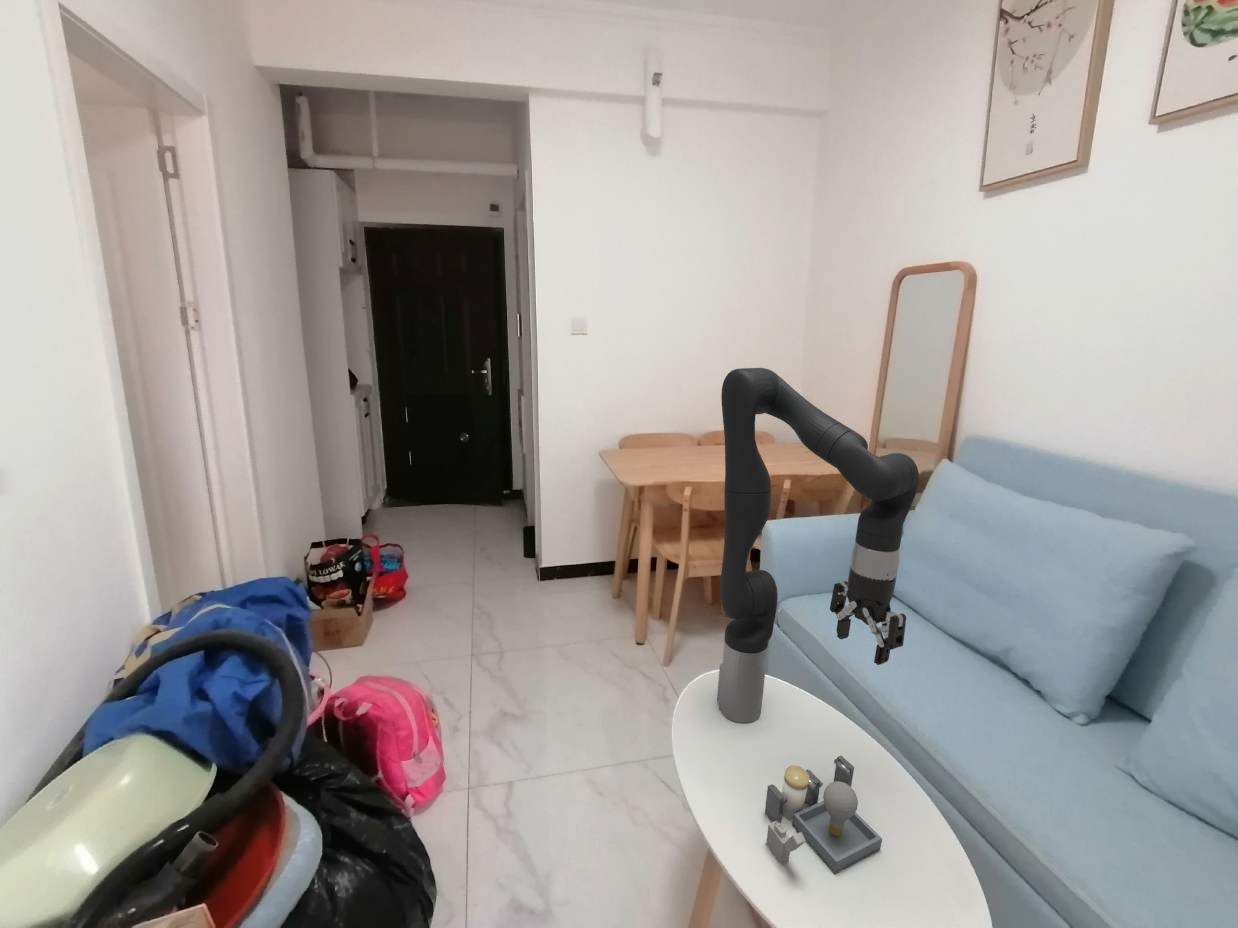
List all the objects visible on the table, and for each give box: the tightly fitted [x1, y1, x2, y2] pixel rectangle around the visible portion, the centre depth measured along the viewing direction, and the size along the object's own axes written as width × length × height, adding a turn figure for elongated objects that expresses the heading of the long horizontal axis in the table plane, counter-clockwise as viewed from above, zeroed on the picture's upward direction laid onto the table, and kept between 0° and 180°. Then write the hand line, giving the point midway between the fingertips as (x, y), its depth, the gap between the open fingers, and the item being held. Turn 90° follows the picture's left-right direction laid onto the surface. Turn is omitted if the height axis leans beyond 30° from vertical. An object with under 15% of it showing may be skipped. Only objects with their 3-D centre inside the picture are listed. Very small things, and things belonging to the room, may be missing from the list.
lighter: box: [765, 821, 806, 865], centre depth 98 cm, size 7×2×8 cm, turn 23°
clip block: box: [764, 755, 855, 824], centre depth 109 cm, size 3×17×6 cm, turn 116°
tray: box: [791, 800, 883, 875], centre depth 103 cm, size 10×10×2 cm
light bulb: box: [822, 781, 859, 836], centre depth 102 cm, size 6×6×10 cm
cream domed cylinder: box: [781, 765, 810, 821], centre depth 107 cm, size 4×4×8 cm
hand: (860, 649), depth 108 cm, fingers open, 8 cm apart
